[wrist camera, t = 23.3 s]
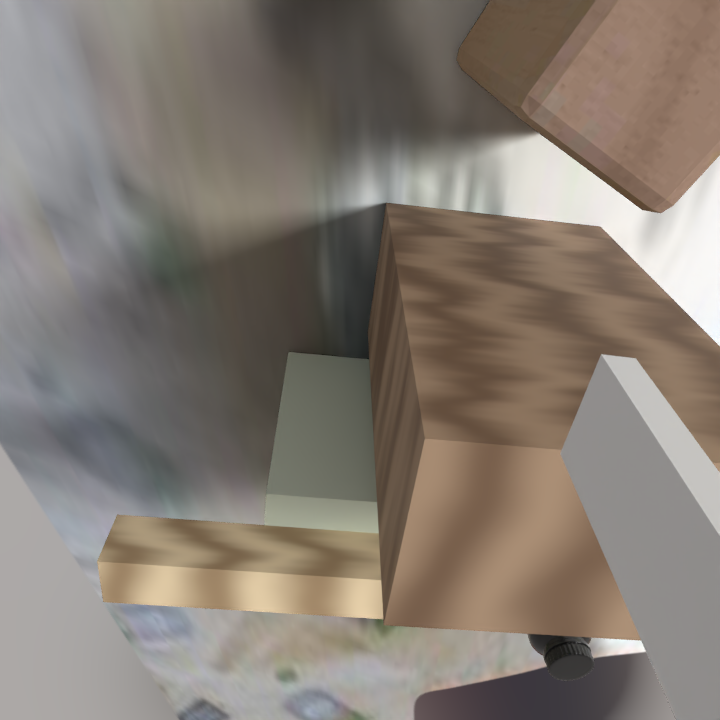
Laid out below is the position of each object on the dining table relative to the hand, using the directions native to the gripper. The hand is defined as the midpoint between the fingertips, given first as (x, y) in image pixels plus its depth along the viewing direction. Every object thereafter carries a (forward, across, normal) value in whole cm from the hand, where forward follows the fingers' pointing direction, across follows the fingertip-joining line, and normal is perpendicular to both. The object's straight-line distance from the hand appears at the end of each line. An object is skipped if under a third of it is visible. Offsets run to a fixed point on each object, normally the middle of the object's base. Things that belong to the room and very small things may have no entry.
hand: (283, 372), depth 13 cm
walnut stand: (+38, +15, -14) cm, 43 cm away
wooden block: (+39, +15, +5) cm, 42 cm away
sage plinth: (+38, +7, -28) cm, 48 cm away
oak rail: (+20, +3, -28) cm, 34 cm away
